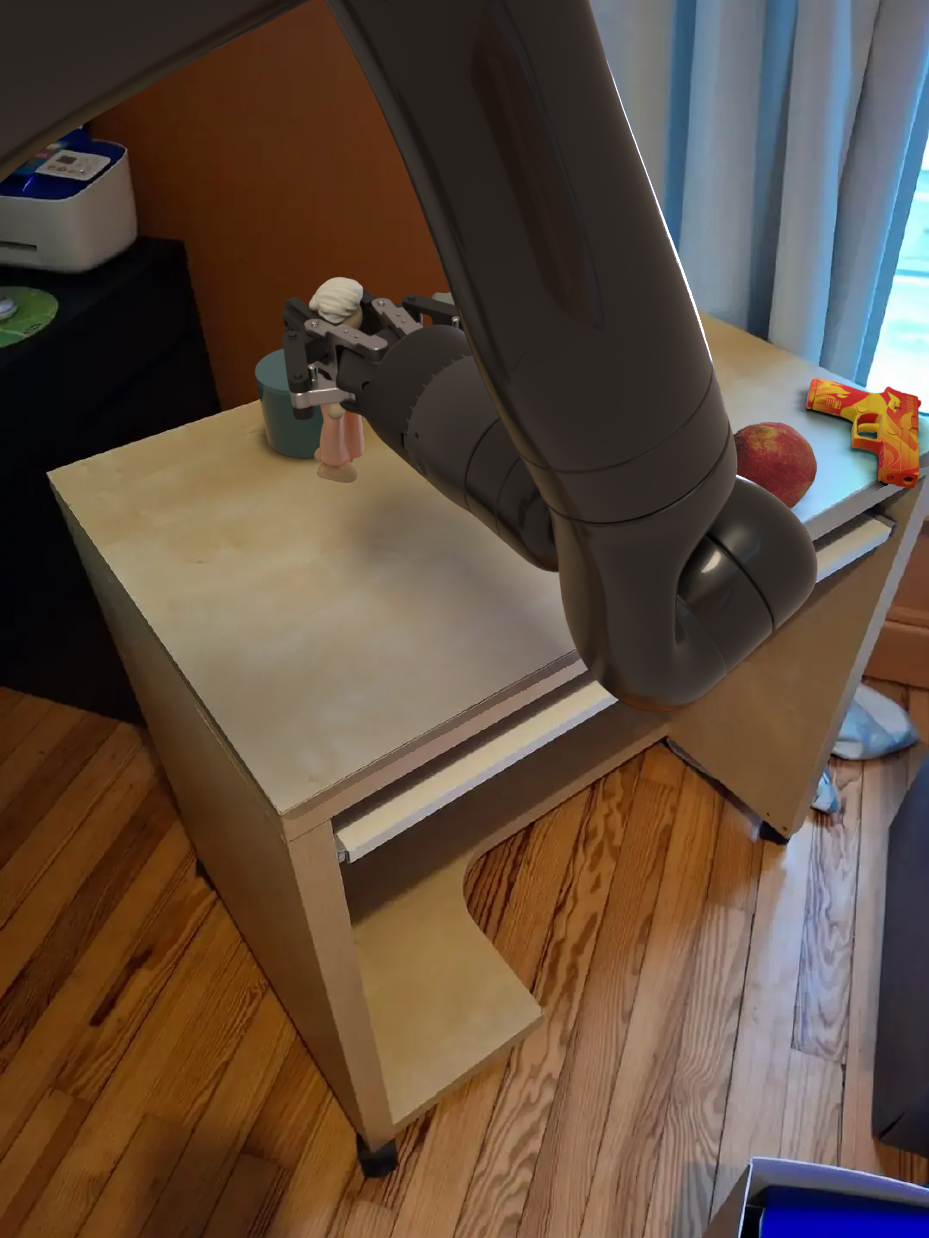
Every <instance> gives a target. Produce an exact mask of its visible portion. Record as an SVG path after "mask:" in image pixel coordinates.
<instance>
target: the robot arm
mask: <svg viewBox="0 0 929 1238" xmlns="http://www.w3.org/2000/svg"><path fill="white" fill-rule="evenodd" d="M309 1H311V0H0V184H1V183H2V182H3V181H5V180H6V179H7V178H8V177H9V176H11V175H12V173H14V172H15V171H16V170H17V169H18V168H19V167H21V166H22V165H24V164H25V163H27V162H28V161H29V160H31V159H33V157H35V156H37V155H38V154H40V152H42V151H43V150H45V149H46V148H48V147H49V146H50V145H52V144H54V143H56V142H57V141H59V140H60V139H62V138H63V137H65V136H67V135H69V134H70V133H72V132H73V131H76V130H77V129H78V128H80V127H82V126H83V125H85V124H87V123H88V122H90V121H91V120H93V119H94V118H96V117H98V116H101V115H102V114H104V113H106V112H107V111H109V110H111V109H112V108H115V107H117V106H118V105H120V104H122V103H124V102H125V101H127V100H129V99H131V98H132V97H135V96H136V95H138V94H140V93H142V92H143V91H145V90H147V89H149V88H151V87H152V86H154V85H156V84H158V83H161V81H164V80H165V79H167V78H168V77H171V76H172V75H174V74H176V73H178V72H179V71H182V70H183V69H185V68H187V67H189V66H190V65H192V64H194V63H196V62H198V61H200V60H201V59H203V58H205V57H207V56H209V55H211V54H212V53H214V52H216V51H218V50H220V49H222V48H224V47H226V46H227V45H230V44H231V43H233V42H235V41H237V40H239V39H240V38H243V37H244V36H246V35H248V34H250V33H251V32H254V31H255V30H258V29H259V28H261V27H263V26H265V25H266V24H268V23H271V22H273V21H274V20H276V19H278V18H281V16H284V15H286V14H287V13H289V12H291V11H293V10H295V9H297V8H299V7H301V6H302V5H304V4H305V3H308V2H309ZM323 1H324V3H325V5H326V6H327V8H328V10H329V11H330V13H331V15H332V16H333V18H334V20H335V21H336V23H337V25H338V27H339V29H340V31H341V33H342V34H343V36H344V38H345V40H346V42H347V44H348V46H349V48H350V49H351V51H352V54H353V55H354V57H355V59H356V61H357V64H358V65H359V67H360V69H361V71H362V73H363V75H364V77H365V79H366V81H367V83H368V85H369V88H370V89H371V91H372V94H373V96H374V98H375V100H376V102H377V105H378V107H379V109H380V112H381V113H382V116H383V118H384V120H385V123H386V125H387V127H388V129H389V132H390V134H391V136H392V138H393V141H394V144H395V145H396V147H397V150H398V152H399V155H400V157H401V160H402V162H403V164H404V167H405V170H406V172H407V175H408V177H409V180H410V182H411V185H412V188H413V191H414V194H415V196H416V199H417V201H418V204H419V206H420V210H421V212H422V215H423V218H424V220H425V223H426V227H427V229H428V232H429V235H430V238H431V240H432V243H433V247H434V249H435V252H436V254H437V258H438V261H439V264H440V266H441V269H442V272H443V275H444V278H445V281H446V284H447V286H448V289H449V292H450V293H451V295H452V298H453V301H454V304H455V305H453V304H449V303H445V302H442V301H438V300H434V299H432V297H426V296H423V295H420V294H415V293H410V294H406V295H403V296H402V298H401V302H399V303H394V302H392V301H391V299H390V298H386V297H376V296H375V295H374V294H371V292H369V291H368V290H367V289H365V288H363V295H362V299H361V300H360V304H359V305H360V307H361V309H362V315H363V318H362V323H361V326H360V328H359V329H358V330H356V329H354V328H352V327H350V326H348V325H346V324H341V325H339V326H337V327H335V326H333V325H331V324H330V323H328V322H326V321H324V320H322V317H321V316H320V315H319V312H317V311H312V310H310V308H309V305H307V304H306V303H305V302H304V301H303V300H302V299H300V298H299V297H298V296H295V297H294V296H293V297H291V298H287V299H285V300H284V308H281V314H282V320H283V325H284V333H283V334H282V335H281V340H282V349H283V348H284V357H285V365H286V373H287V380H288V386H289V392H290V398H291V404H292V411H293V416H294V418H296V419H298V420H307V419H310V418H312V417H313V416H314V414H315V412H314V406H318V405H326V404H334V403H339V404H340V406H341V407H342V408H343V409H344V410H346V411H348V412H351V413H355V414H359V415H361V417H362V418H364V419H365V420H366V422H367V423H368V424H369V426H370V428H371V429H372V431H373V432H374V433H375V435H376V436H377V437H378V438H379V439H380V440H381V441H382V443H384V444H385V445H386V446H387V447H388V448H389V449H391V450H392V451H393V452H394V453H395V454H396V455H398V457H400V458H401V459H402V460H403V461H404V462H405V463H406V464H407V465H409V466H410V467H411V468H412V469H413V470H414V471H416V473H418V474H419V475H420V476H421V477H423V478H424V479H425V480H426V481H427V482H428V483H429V484H430V485H431V486H432V487H434V488H435V489H436V490H437V491H438V492H439V493H440V494H442V495H443V496H444V497H445V498H446V499H448V500H449V501H451V502H452V503H453V504H455V505H456V506H458V507H460V508H461V509H463V510H465V511H467V512H468V513H470V514H471V515H473V516H474V517H475V518H476V519H477V520H478V521H480V522H481V523H482V524H483V525H484V526H486V527H487V528H488V529H489V530H490V531H491V532H492V533H494V534H495V536H497V537H498V538H499V539H500V540H501V541H503V542H504V543H505V544H506V545H507V546H508V547H509V548H511V550H512V551H514V552H515V553H516V554H518V556H520V557H521V558H522V559H524V560H525V561H526V562H527V563H529V564H531V565H532V566H534V567H535V568H537V569H540V570H541V571H545V572H549V573H557V574H558V577H559V586H560V596H561V602H562V607H563V611H564V617H565V622H566V625H567V628H568V631H569V634H570V637H571V639H572V642H573V645H574V647H575V649H576V652H577V653H578V655H579V657H580V658H581V661H582V662H583V664H584V665H585V667H586V669H587V670H588V672H589V673H590V674H591V676H592V677H593V678H594V679H595V681H596V682H597V683H598V684H599V685H600V686H601V687H602V688H603V689H604V690H605V691H607V692H608V693H609V694H610V695H611V696H612V697H613V698H614V699H616V700H618V701H620V702H621V703H622V704H625V705H627V706H629V707H631V708H634V709H637V710H641V711H644V712H651V713H669V712H670V713H671V712H675V711H676V712H677V711H679V710H683V709H686V708H687V707H689V706H691V705H693V704H694V703H696V702H697V701H699V700H701V699H702V698H703V697H705V696H706V695H707V694H708V693H709V692H711V690H712V689H714V688H715V687H716V686H717V685H718V684H719V683H720V682H722V681H723V680H724V679H725V677H726V676H727V675H729V674H730V673H731V672H732V671H733V670H734V669H735V668H736V667H738V666H739V664H741V662H743V660H745V659H746V658H748V656H749V655H750V654H751V653H752V652H753V651H754V650H755V649H757V648H758V647H759V646H760V645H762V643H763V642H764V641H765V640H766V639H767V638H768V637H770V635H771V634H774V632H776V631H777V630H778V629H779V628H780V627H781V626H782V625H783V624H784V623H785V622H786V621H788V619H790V618H791V617H792V616H793V615H794V614H795V613H796V612H797V611H798V610H800V608H801V607H802V606H803V604H804V603H805V602H806V601H807V600H808V598H809V597H810V596H811V594H812V592H813V590H814V588H815V586H816V583H817V578H818V564H819V563H818V558H817V553H816V548H815V546H814V543H813V540H812V538H811V536H810V533H809V532H808V530H807V528H806V527H805V525H804V524H803V522H801V520H800V518H799V517H798V516H797V515H796V513H795V512H794V511H793V510H792V508H791V509H790V508H789V507H788V506H787V505H785V504H784V503H783V502H782V501H781V500H780V499H779V498H777V497H776V496H775V495H773V494H772V493H770V492H769V491H767V490H766V489H764V488H762V487H761V486H759V485H757V484H756V483H754V482H752V481H750V480H747V479H745V478H743V477H741V476H739V475H737V452H736V446H735V441H734V436H733V435H734V432H733V428H732V425H731V421H730V419H729V413H728V412H727V408H726V404H725V400H724V397H723V393H722V390H721V385H720V382H719V379H718V376H717V372H716V368H715V366H714V365H715V364H714V362H713V358H712V354H711V351H710V349H709V344H708V341H707V339H706V335H705V331H704V328H703V325H702V322H701V319H700V316H699V312H698V309H697V306H696V303H695V299H694V297H693V294H692V291H691V289H690V286H689V283H688V281H687V277H686V274H685V272H684V269H683V266H682V263H681V260H680V258H679V254H678V252H677V249H676V247H675V244H674V241H673V239H672V236H671V234H670V232H669V229H668V225H667V223H666V220H665V217H664V215H663V212H662V210H661V207H660V204H659V202H658V199H657V196H656V193H655V190H654V188H653V185H652V183H651V180H650V177H649V175H648V172H647V169H646V167H645V163H644V161H643V158H642V156H641V153H640V151H639V148H638V145H637V141H636V139H635V136H634V135H633V131H632V129H631V126H630V125H631V124H630V122H629V120H628V117H627V114H626V112H625V109H624V107H623V103H622V101H621V97H620V94H619V91H618V89H617V85H616V82H615V79H614V76H613V73H612V70H611V68H610V64H609V61H608V58H607V56H606V52H605V49H604V45H603V42H602V39H601V36H600V32H599V28H598V25H597V22H596V19H595V14H594V12H593V8H592V5H591V1H590V0H323ZM423 315H426V316H428V317H430V319H431V323H432V324H431V325H427V326H426V325H424V324H423V321H424V320H423ZM316 366H317V367H319V368H321V369H322V370H324V371H326V372H328V373H329V375H330V377H331V379H332V380H327V379H325V378H324V376H323V375H322V374H320V373H317V370H316Z"/></svg>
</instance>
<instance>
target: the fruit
mask: <svg viewBox="0 0 929 1238" xmlns="http://www.w3.org/2000/svg"><path fill="white" fill-rule="evenodd" d="M733 436H734V441H735V446H736V452H737V475H739V476H741V477H743V478H745V479H747V480H750V481H752V482H754V483H756V484H757V485H759V486H761V487H762V488H764V489H766V490H767V491H769V492H770V493H772V494H773V495H775V496H776V497H777V498H779V499H780V500H781V501H782V502H783V503H784V504H785V505H787V506H788V507H789V508H790V509H791V510H792V509H793V508H794V507H796V506H797V505H798V503H800V501H801V500H802V499H803V498H804V496H805V495H806V494H807V492H808V491H809V489H810V488H811V487H812V486H813V484H814V482H815V479H816V476H817V472H818V462H817V459H816V456H815V452H814V449H813V447H812V446H811V444H810V442H808V440H807V439H806V438H805V437H804V436H803V435H802V434H801V433H800V432H799V431H798V430H796V429H795V428H794V427H793V426H790V425H789V424H786V423H783V422H775V421H774V422H773V421H765V422H760V423H755V424H749V425H746V426H745V427H743V428H740V429H739V430H737V431H736V432H735V433H733Z"/></svg>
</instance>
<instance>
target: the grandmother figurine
mask: <svg viewBox="0 0 929 1238" xmlns="http://www.w3.org/2000/svg"><path fill="white" fill-rule="evenodd" d="M363 289H364V288H363V286H362V285H361V284H360V283H359V282H358V281H357V280H355V279H352V278H347V277H342V276H338V277H333V278H330V279H328V280H326V281H325V282H324V283H322V285H320V286H319V287H318V289H316V292H315V293H314V294H313V295H312V298H311V299H310V300H309V302H308V306H309V308H310V310H312V311H315V312H318V314H319V315H320V316H321V317H322V320H324V321H326V322H328V323H330V324H331V325H333V326H335V327H337V326H339V325H341V324H346V325H348V326H350V327H352V328H354V329H356V330H358V331H359V328H360V326H361V323H362V318H363V315H362V309H361V307H360V305H359V304H360V300H361V299H362V295H363ZM318 373H320V374H322V375H323V376H324V378H325V379H327V380H332V379H331V377H330V375H329V373H328V372H326V371H324V370H322V369H321V368H319V367H318ZM320 406H321V411H322V414H323V420H324V422H323V426H322V431H321V437H320V448H318V449H317V450H316V451H315V454H314V460H316V461H317V462H318V463H320V465H319V466H318V468H317V471H316V475H317V477H319V478H320V479H324V480H327V481H332V482H336V483H341V484H348V483H354V482H355V481H356V480H358V477H359V471H358V469H357V468H356V466H355V465H354V464H353V463H352V462H353V461H354V460H355V459H358V458H360V457H362V456H363V455H364V453H365V439H364V438H365V437H364V435H365V434H364V425H363V424H364V423H363V416H361V415H359V414H355V413H351V412H348V411H346V410H344V409H343V408H342V407H341V406H340V404H339V403H334V404H326V405H320Z"/></svg>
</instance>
